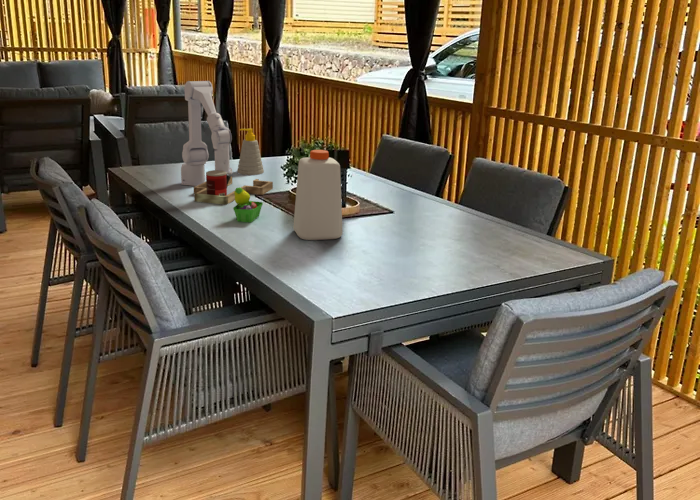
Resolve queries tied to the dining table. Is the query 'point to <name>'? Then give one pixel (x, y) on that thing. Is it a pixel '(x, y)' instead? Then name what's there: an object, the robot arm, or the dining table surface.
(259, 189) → the trap channel
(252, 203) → the fruit basket
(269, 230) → the dining table surface
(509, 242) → the dining table surface
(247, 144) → the soap bottle
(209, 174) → the canned food
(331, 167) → the plastic bottle
